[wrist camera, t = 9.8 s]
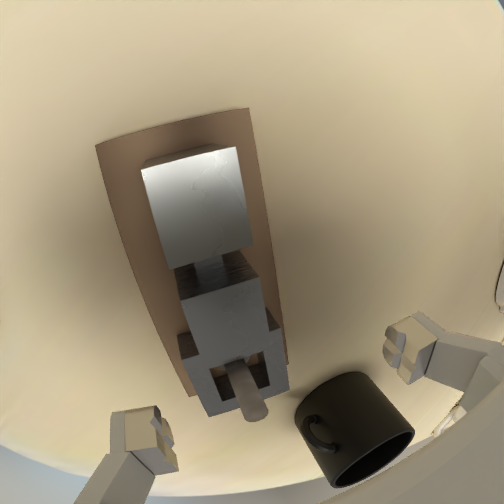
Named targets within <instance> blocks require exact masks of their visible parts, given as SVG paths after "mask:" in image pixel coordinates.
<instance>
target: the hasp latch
mask: <svg viewBox="0 0 504 504" xmlns="http://www.w3.org/2000/svg"><path fill="white" fill-rule="evenodd" d="M141 172H142V176H143V180H144V183H145V187H146V191H147V195H148V199H149V202H150V206H151V210H152V213H153V217H154V220H155V224H156V227H157V231H158V234H159V238H160V241H161V244H162V248H163V251H164V254H165V257H166V261H167V264H168V267H169V270H170V269H174V273H175V278H176V284H177V289H178V294H179V299H180V303H181V306H182V308H183V311H184V314H185V317H186V320H187V322H188V325H189V328H190V331H189V332H186V333H182V334H179V335H177V340H178V346H179V351H180V356H181V361H182V363H183V365H184V367H185V369H186V372H187V374H188V376H189V378H190V380H191V382H192V384H193V386H194V388H195V391H196V393H197V395H198V397H199V399H200V401H201V403H202V405H203V407H204V409H205V411H206V412H207V414H208V416H209V417H212V416H215V415H218V414H222V413H225V412H228V411H231V410H234V409H238V408H240V406H239V403H238V401H237V398H236V395H235V393H234V390H233V388H232V385H231V382H230V380H229V377H228V374H224V375H221V376H218V377H215V378H214V376H213V373H212V370H211V368H214V367H217V366H220V365H223V364H226V363H229V362H233V361H236V360H239V359H242V358H245V357H248V356H251V355H253V354H256V353H257V357H258V362H259V363H257V364H255V365H252V366H249V367H248V368H249V371H250V373H251V375H252V377H253V379H254V381H255V384H256V386H257V388H258V390H259V392H260V394H261V396H262V398H263V400H264V399H267V398H269V397H272V396H275V395H277V394H280V393H283V392H285V391H288V390H290V389H289V381H288V374H287V367H286V360H285V353H284V346H283V339H282V332H281V327H280V326H279V324H278V323H277V322H276V320H275V319H274V317H273V316H272V314H271V313H270V311H269V310H268V308H267V307H265V305H264V300H263V294H262V288H261V283H260V277H259V276H258V274H257V273H256V272H255V270H254V269H253V268H252V266H251V265H250V264H249V262H248V261H247V260H246V258H245V257H244V256H243V254H242V253H241V252H240V250H239V249H242V248H246V247H249V246H253V245H254V244H253V239H252V233H251V228H250V222H249V217H248V211H247V206H246V200H245V195H244V189H243V184H242V178H241V173H240V167H239V162H238V156H237V151H236V147H235V146H229V145H222V144H214V143H212V144H208V145H203V146H199V147H195V148H190V149H186V150H182V151H178V152H174V153H170V154H167V155H163V156H159V157H155V158H152V159H148V160H145V162H144V164H143V167H142V169H141Z"/></svg>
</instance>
